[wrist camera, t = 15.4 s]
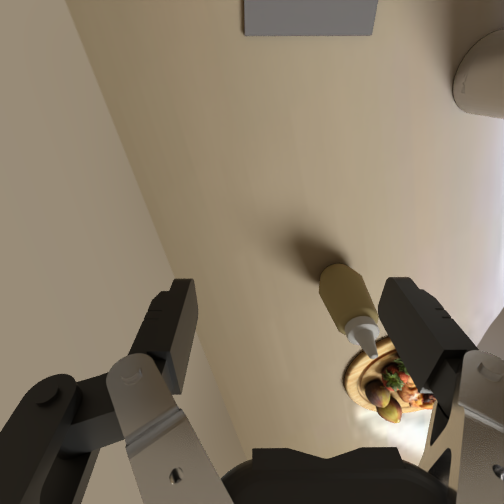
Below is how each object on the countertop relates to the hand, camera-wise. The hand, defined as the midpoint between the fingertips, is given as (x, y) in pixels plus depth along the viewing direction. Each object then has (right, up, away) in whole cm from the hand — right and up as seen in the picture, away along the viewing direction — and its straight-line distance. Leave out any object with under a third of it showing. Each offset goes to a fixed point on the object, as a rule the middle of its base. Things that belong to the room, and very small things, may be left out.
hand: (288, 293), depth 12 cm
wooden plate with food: (+38, -28, +58) cm, 75 cm away
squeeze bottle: (+14, -3, +41) cm, 43 cm away
